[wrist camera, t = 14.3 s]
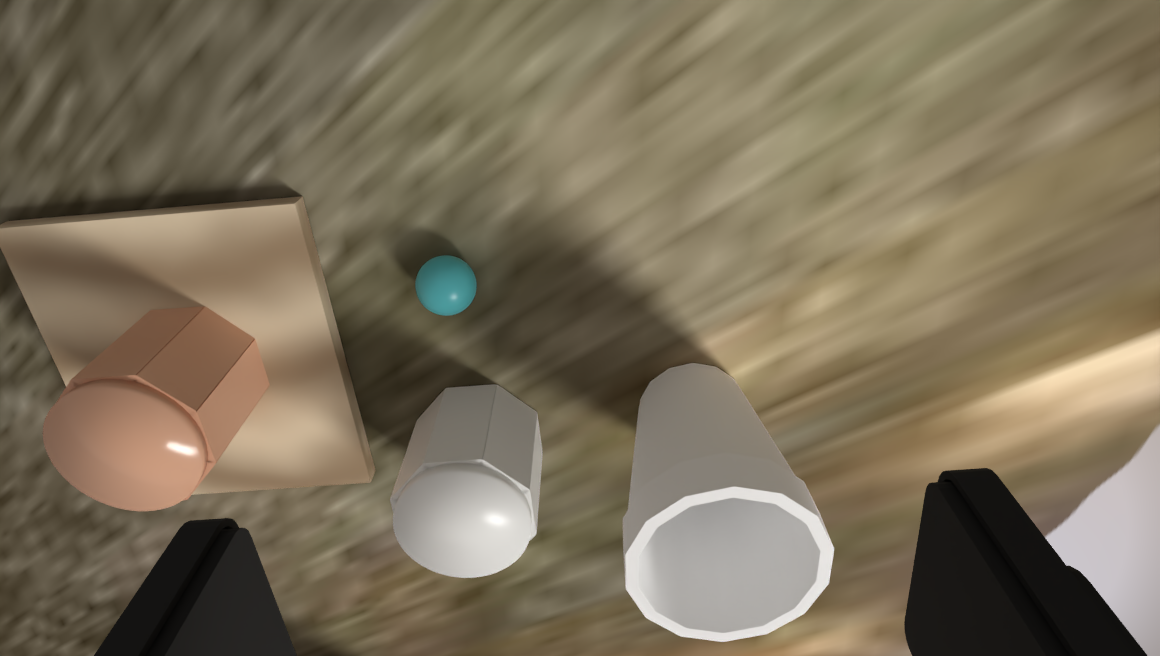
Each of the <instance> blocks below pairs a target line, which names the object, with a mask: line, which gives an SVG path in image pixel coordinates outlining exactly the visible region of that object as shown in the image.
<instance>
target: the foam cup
mask: <svg viewBox="0 0 1160 656" xmlns="http://www.w3.org/2000/svg"><path fill="white" fill-rule="evenodd" d="M623 553H624V568H625V583H626V590H627V591H628V593H629V594H630V596H631V597H632V598H633V600H634V601H635V603H636V604H637V606H638V607H639V609H640V610H641V611H642V613H643V614H644V616H645V617H646V618H647V619H649V620H651V621H653V622H655V623H657V624H658V625H660V626H662V627H664V628H666V629H668V630H670V631H672V632H673V633H675V634H677V635H679V636H682V637H690V638H697V639H705V640H712V641H720V642H726V641H731V640H737V639H742V638H748V637H753V636H759V635H764V634H768V633H770V632H772V631H773V630H775V629H777V628H779V627H781V626H783V625H784V624H786V623H788V622H790V621H792V620H794V619H795V618H797V617H799V616H801V615H803V614H805V612H806V611H807V610H808V609H809V607H810V606H811V605H812V604H813V602H814V601H815V600H816V599H817V597H818V596H819V595H820V594H821V592H822V591H823V590H824V589H825V588H826V586H827V585H828V584H829V579H830V573H831V566H832V560H833V553H834V547H833V545H832V542H831V540H830V537H829V535H828V532H827V530H826V527H825V525H824V523H823V520H822V518H821V515H820V513H819V511H818V509H817V507H816V505H815V503H814V501H813V499H812V497H811V495H810V493H809V491H808V489H807V487H806V485H805V483H804V481H802V480H801V479H799V478H798V477H796V476H795V474H794V473H793V471H792V470H791V468H790V467H789V465H788V463H787V462H786V460H785V459H784V457H783V455H782V454H781V452H780V451H779V449H778V447H777V446H776V444H775V443H774V441H773V439H772V438H771V436H770V435H769V433H768V431H767V430H766V428H765V427H764V425H763V423H762V422H761V420H760V419H759V417H758V415H757V414H756V412H755V411H754V409H753V408H752V406H751V404H750V403H749V401H748V400H747V398H746V396H745V395H744V393H743V392H742V390H741V388H740V387H739V385H738V384H737V383H736V381H735V379H734V378H732V377H731V376H729V375H728V374H726V373H725V372H723V371H722V370H720V369H719V368H717V367H715V366H709V365H703V364H697V363H690V364H685V365H681V366H677V367H672V368H669V369H667V370H666V371H664V372H663V373H662V374H660V375H659V376H657V377H656V378H655V379H653V380H652V381H650V383H649V385H648V386H647V388H646V390H645V392H644V394H643V395H642V397H641V399H640V405H639V411H638V420H637V429H636V439H635V448H634V457H633V467H632V476H631V486H630V495H629V504H628V511H627V512H626V514H625V516H624V517H623Z"/></svg>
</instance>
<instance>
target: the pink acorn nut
mask: <svg viewBox="0 0 1160 656" xmlns="http://www.w3.org/2000/svg"><path fill="white" fill-rule="evenodd" d="M269 386H270V384H269V381H268V377H267V374H266V371H265V368H264V365H263V362H262V358H261V355H260V352H259V349H258V346H257V343H256V339H254V337H252V336H251V335H249V334H248V333H246V332H244V331H243V330H241V329H240V328H238V327H237V326H235V325H234V324H232V323H230V322H229V321H227V320H226V319H224V318H223V317H221V316H220V315H218V314H216V313H215V312H213V311H212V310H210V309H209V308H207V307H205V306H201V307H186V308H172V309H158V310H150V311H149V312H148V313H146V314H145V315H144V316H143V317H142V318H141V319H140V320H138V321H137V322H136V323H135V324H134V325H133V326H132V327H130V328H129V329H128V330H127V331H126V332H125V333H124V334H122V335H121V336H120V337H119V338H118V339H117V340H116V341H114V342H113V343H112V344H111V345H110V346H109V347H108V348H106V349H105V350H104V351H103V352H102V353H101V354H100V355H98V356H97V357H96V358H95V359H94V360H93V361H92V362H90V363H89V364H88V365H87V366H86V367H85V368H84V369H82V370H81V371H80V372H79V373H78V374H77V375H76V376H74V377H73V378H72V379H71V380H70V382H69V383H68V385H67V386H66V388H65V390H64V391H63V393H62V394H61V396H60V397H59V399H58V401H57V402H56V404H54V405H53V407H52V408H51V409H50V411H49V412H48V414H47V416H46V418H45V422H44V425H43V440H44V445H45V448H46V451H47V453H48V456H49V458H50V460H51V461H52V463H53V465H54V466H55V467H56V469H57V470H58V471H59V473H60V474H61V475H62V476H63V477H64V478H65V479H66V480H67V481H68V482H69V483H70V484H72V485H73V486H74V487H75V488H77V489H78V490H80V491H81V492H82V493H84V494H86V495H87V496H89V497H91V498H93V499H95V500H97V501H99V502H102V503H104V504H107V505H110V506H113V507H117V508H120V509H126V510H133V511H153V510H160V509H164V508H168V507H170V506H173V505H175V504H177V503H179V502H181V501H182V500H188V498H189V497H190V496H191V494H192V493H193V492H194V491H195V489H196V488H197V487H198V486H199V484H200V483H201V482H202V480H203V479H204V478H205V477H206V475H207V474H208V473H209V472H210V470H211V469H212V468H213V467H214V465H215V464H216V463H217V461H218V460H219V458H220V457H221V455H222V454H223V452H224V451H225V450H226V448H227V447H228V445H229V444H230V442H231V441H232V439H233V438H234V436H235V435H236V434H237V432H238V431H239V429H240V428H241V426H242V425H243V423H244V422H245V421H246V419H247V418H248V416H249V415H250V413H251V412H252V410H253V409H254V407H255V406H256V405H257V403H258V402H259V400H260V399H261V397H262V396H263V394H264V393H265V391H266V390H267V389H268V387H269Z"/></svg>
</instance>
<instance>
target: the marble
mask: <svg viewBox="0 0 1160 656" xmlns="http://www.w3.org/2000/svg"><path fill="white" fill-rule="evenodd" d="M415 286H416V293H417V296H418V298H419V300H420V302H421V303H422V304H423V306H424V307H425V308H427V309H428V310H429V311H431V312H433V313H435V314H438V315H444V316H448V315H454V314H457V313H460V312H462V311H463V310H465V309H466V308H467V307H468V306H469V305H470V304H471V302H472V301H473V299H474V297H475V294H476V288H477V283H476V278H475V275H474V272H473V271H472V269H471V268H470V266H469V265H468V264H467V263H466V262H464V261H463V260H461V259H460V258H457V257H455V256H450V255H442V256H437V257H434V258H432V259H430V260H429V261H427V262H426V263H425V264H424V265H423V266H422V267H421V269H420V270H419V272H418V274H417V277H416V285H415Z"/></svg>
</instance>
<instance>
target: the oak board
mask: <svg viewBox="0 0 1160 656" xmlns="http://www.w3.org/2000/svg"><path fill="white" fill-rule="evenodd" d="M0 248H1V250H2V252H3V254H4V256H5V258H6V261H7V263H8V265H9V267H10V269H11V271H12V273H13V275H14V277H15V280H16V282H17V284H18V286H19V288H20V290H21V292H22V294H23V296H24V299H25V301H26V303H27V305H28V307H29V309H30V311H31V313H32V315H33V318H34V320H35V322H36V324H37V326H38V328H39V330H40V332H41V334H42V337H43V339H44V341H45V343H46V345H47V347H48V349H49V351H50V353H51V355H52V358H53V360H54V362H55V364H56V366H57V368H58V370H59V372H60V374H61V377H62V379H63V381H64V383H65V385H66V386H67V385H68V383H69V382H70V380H71V379H72V378H73V377H74V376H76V375H77V374H78V373H79V372H80V371H81V370H82V369H84V368H85V367H86V366H87V365H88V364H89V363H90V362H92V361H93V360H94V359H95V358H96V357H97V356H98V355H100V354H101V353H102V352H103V351H104V350H105V349H106V348H108V347H109V346H110V345H111V344H112V343H113V342H114V341H116V340H117V339H118V338H119V337H120V336H121V335H122V334H124V333H125V332H126V331H127V330H128V329H129V328H130V327H132V326H133V325H134V324H135V323H136V322H137V321H138V320H140V319H141V318H142V317H143V316H144V315H145V314H146V313H148V312H149V311H150V310H158V309H172V308H186V307H201V306H205V307H207V308H209V309H210V310H212V311H213V312H215V313H216V314H218V315H220V316H221V317H223V318H224V319H226V320H227V321H229V322H230V323H232V324H234V325H235V326H237V327H238V328H240V329H241V330H243V331H244V332H246V333H248V334H249V335H251V336H252V337H254V339H256V343H257V346H258V349H259V352H260V355H261V358H262V362H263V365H264V368H265V371H266V374H267V377H268V381H269V384H270V386H269V387H268V389H267V390H266V391H265V393H264V394H263V396H262V397H261V399H260V400H259V402H258V403H257V405H256V406H255V407H254V409H253V410H252V412H251V413H250V415H249V416H248V418H247V419H246V421H245V422H244V423H243V425H242V426H241V428H240V429H239V431H238V432H237V434H236V435H235V436H234V438H233V439H232V441H231V442H230V444H229V445H228V447H227V448H226V450H225V451H224V452H223V454H222V455H221V457H220V458H219V460H218V461H217V463H216V464H215V465H214V467H213V468H212V469H211V470H210V472H209V473H208V474H207V475H206V477H205V478H204V479H203V480H202V482H201V483H200V484H199V486H198V487H197V488H196V489H195V491H194V492H193V493H192V494H207V493H222V492H236V491H251V490H266V489H281V488H296V487H310V486H325V485H340V484H355V483H369V482H371V480H372V478H373V475H374V473H375V467H374V463H373V459H372V456H371V452H370V448H369V444H368V440H367V437H366V433H365V429H364V425H363V422H362V418H361V414H360V410H359V407H358V403H357V399H356V395H355V392H354V388H353V384H352V380H351V377H350V373H349V369H348V365H347V362H346V358H345V354H344V350H343V347H342V343H341V339H340V335H339V331H338V328H337V324H336V320H335V316H334V313H333V309H332V305H331V301H330V298H329V294H328V290H327V286H326V283H325V279H324V275H323V271H322V268H321V264H320V260H319V256H318V253H317V249H316V245H315V241H314V238H313V234H312V230H311V226H310V222H309V219H308V215H307V211H306V207H305V204H304V200H303V196H301V197H289V198H277V199H265V200H253V201H241V202H229V203H217V204H205V205H193V206H182V207H170V208H158V209H146V210H134V211H122V212H110V213H98V214H86V215H74V216H62V217H51V218H39V219H27V220H15V221H6V222H4V223H2V224H1V225H0ZM192 494H191V495H192Z"/></svg>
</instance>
